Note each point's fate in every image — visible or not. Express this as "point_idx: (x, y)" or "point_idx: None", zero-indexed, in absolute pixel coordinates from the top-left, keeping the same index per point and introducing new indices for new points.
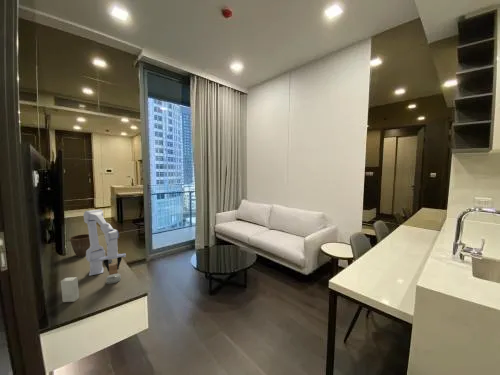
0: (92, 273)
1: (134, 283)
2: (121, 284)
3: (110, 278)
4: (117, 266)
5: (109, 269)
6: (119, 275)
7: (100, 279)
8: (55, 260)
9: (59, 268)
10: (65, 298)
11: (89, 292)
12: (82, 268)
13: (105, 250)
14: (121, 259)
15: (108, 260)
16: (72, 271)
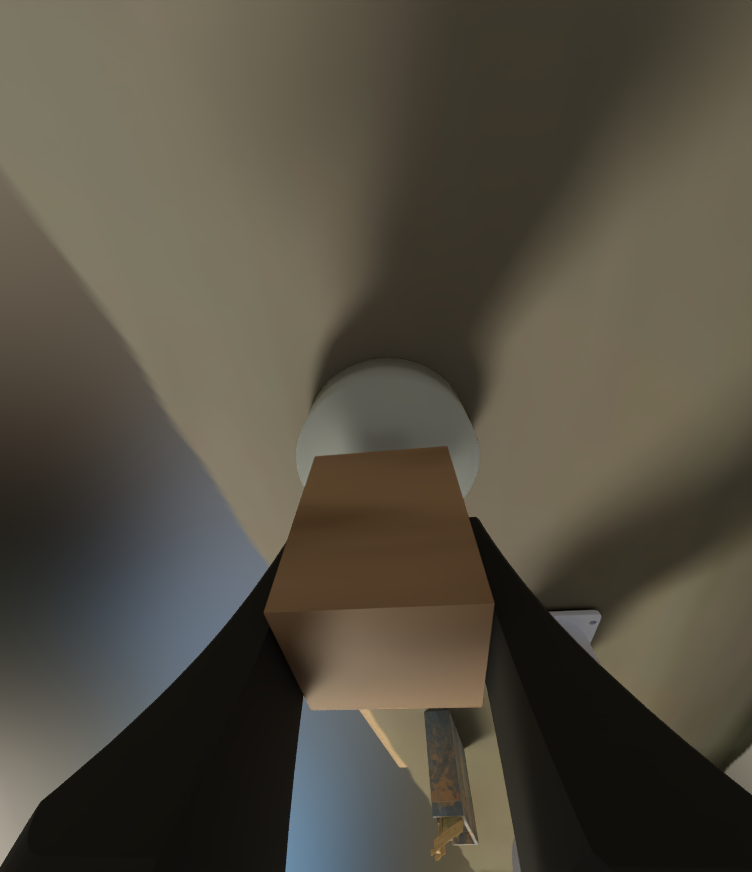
0: (574, 628)
1: (51, 186)
2: (262, 256)
3: (422, 417)
4: None
5: (459, 528)
6: (309, 459)
7: (517, 515)
8: None
9: (723, 739)
10: None
11: (710, 182)
12: None
13: (476, 844)
14: (8, 859)
15: (449, 740)
16: (675, 694)
